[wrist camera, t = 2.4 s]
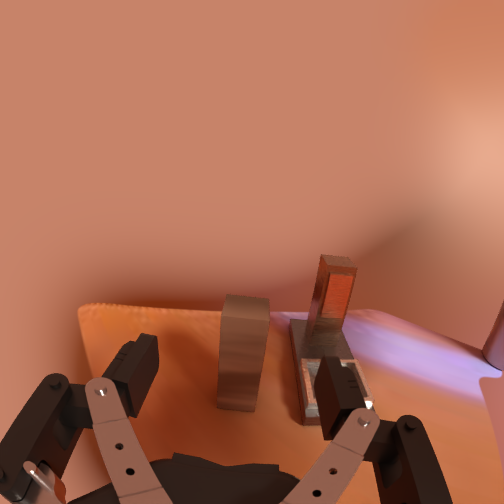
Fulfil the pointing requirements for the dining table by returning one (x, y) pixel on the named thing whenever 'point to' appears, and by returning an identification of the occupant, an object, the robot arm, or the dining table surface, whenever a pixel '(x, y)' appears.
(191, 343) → the dining table surface
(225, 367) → the wooden post
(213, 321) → the dining table surface
